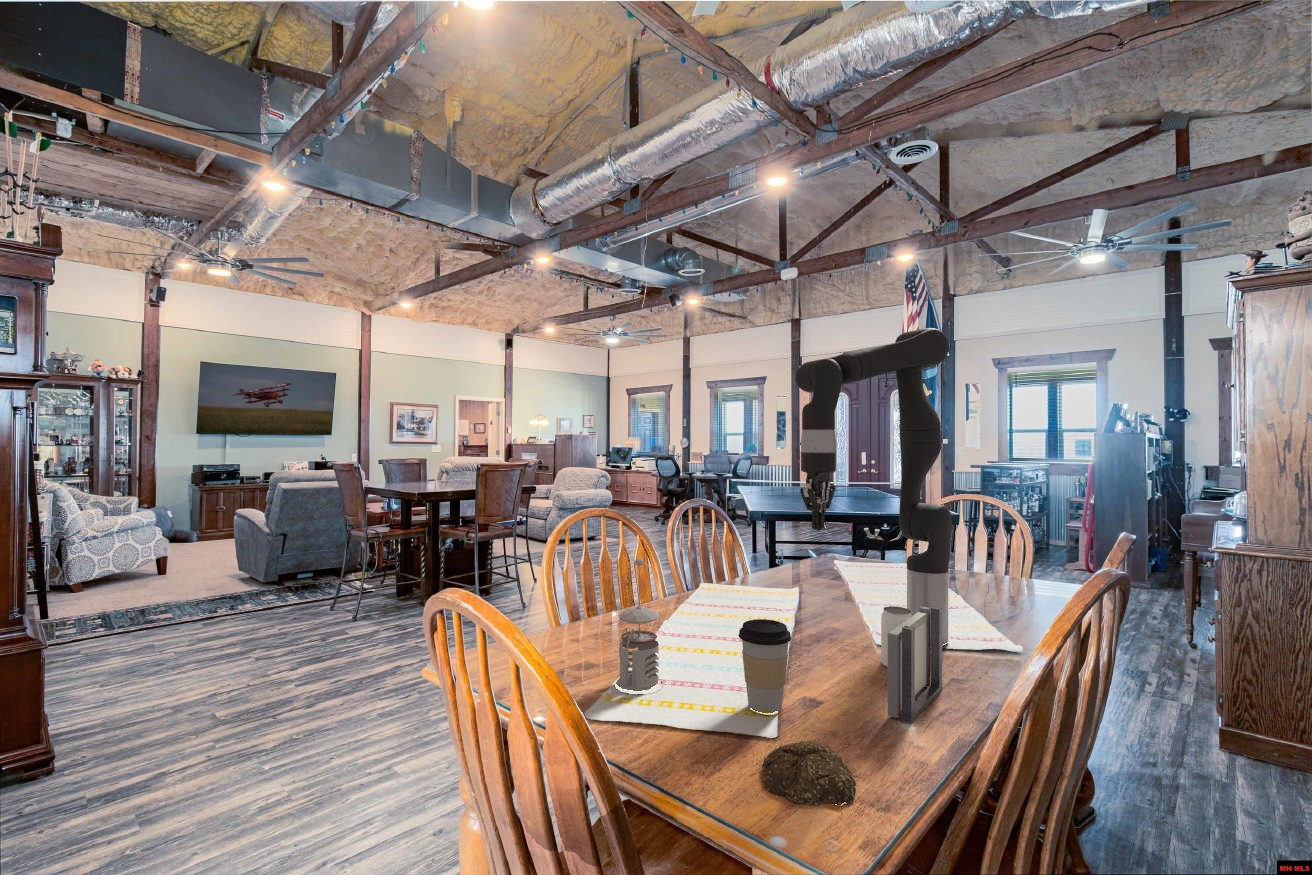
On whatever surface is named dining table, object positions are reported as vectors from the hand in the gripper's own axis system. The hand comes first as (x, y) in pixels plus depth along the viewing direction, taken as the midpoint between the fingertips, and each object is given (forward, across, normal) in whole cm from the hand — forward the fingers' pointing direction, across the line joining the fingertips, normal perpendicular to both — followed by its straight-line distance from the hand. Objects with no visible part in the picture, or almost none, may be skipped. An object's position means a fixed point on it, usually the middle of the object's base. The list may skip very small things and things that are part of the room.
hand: (818, 529), depth 132 cm
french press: (+29, -36, +21) cm, 51 cm away
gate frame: (+29, -8, -24) cm, 39 cm away
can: (+29, +9, -14) cm, 34 cm away
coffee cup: (+29, -28, -3) cm, 41 cm away
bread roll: (+30, -44, -19) cm, 57 cm away
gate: (+28, -8, -22) cm, 37 cm away
